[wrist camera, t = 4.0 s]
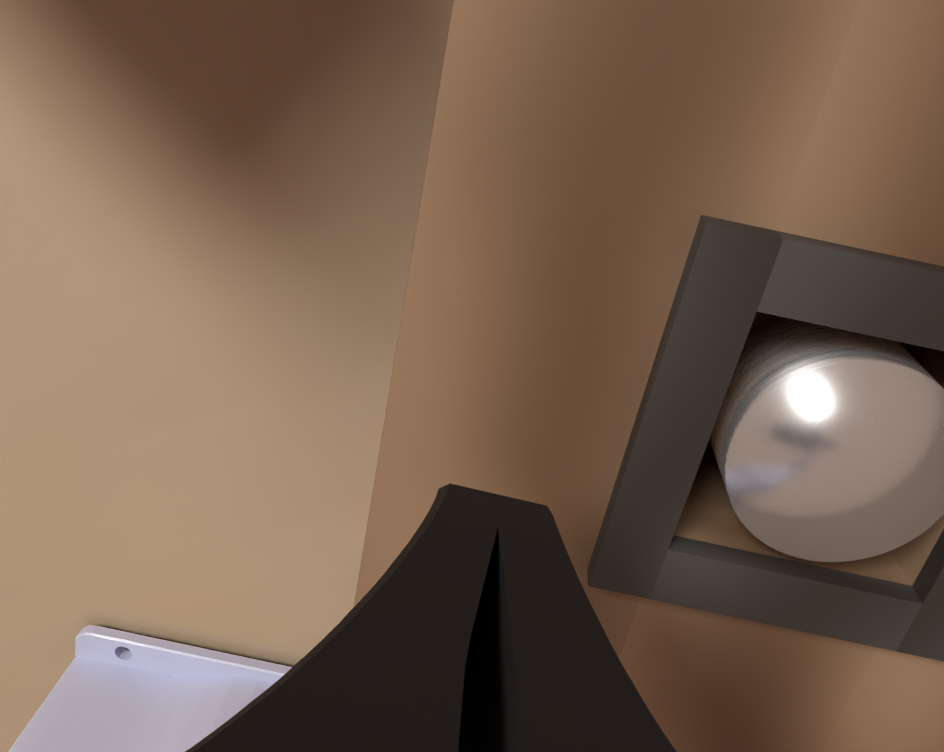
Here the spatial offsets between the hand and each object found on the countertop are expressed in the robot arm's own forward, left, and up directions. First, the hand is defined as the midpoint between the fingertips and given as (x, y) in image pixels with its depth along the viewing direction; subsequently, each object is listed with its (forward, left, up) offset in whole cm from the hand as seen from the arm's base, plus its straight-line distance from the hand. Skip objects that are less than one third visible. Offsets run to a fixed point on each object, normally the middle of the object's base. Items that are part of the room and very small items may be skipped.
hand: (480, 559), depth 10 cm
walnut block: (+6, 0, -10) cm, 11 cm away
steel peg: (+6, 0, -10) cm, 12 cm away
